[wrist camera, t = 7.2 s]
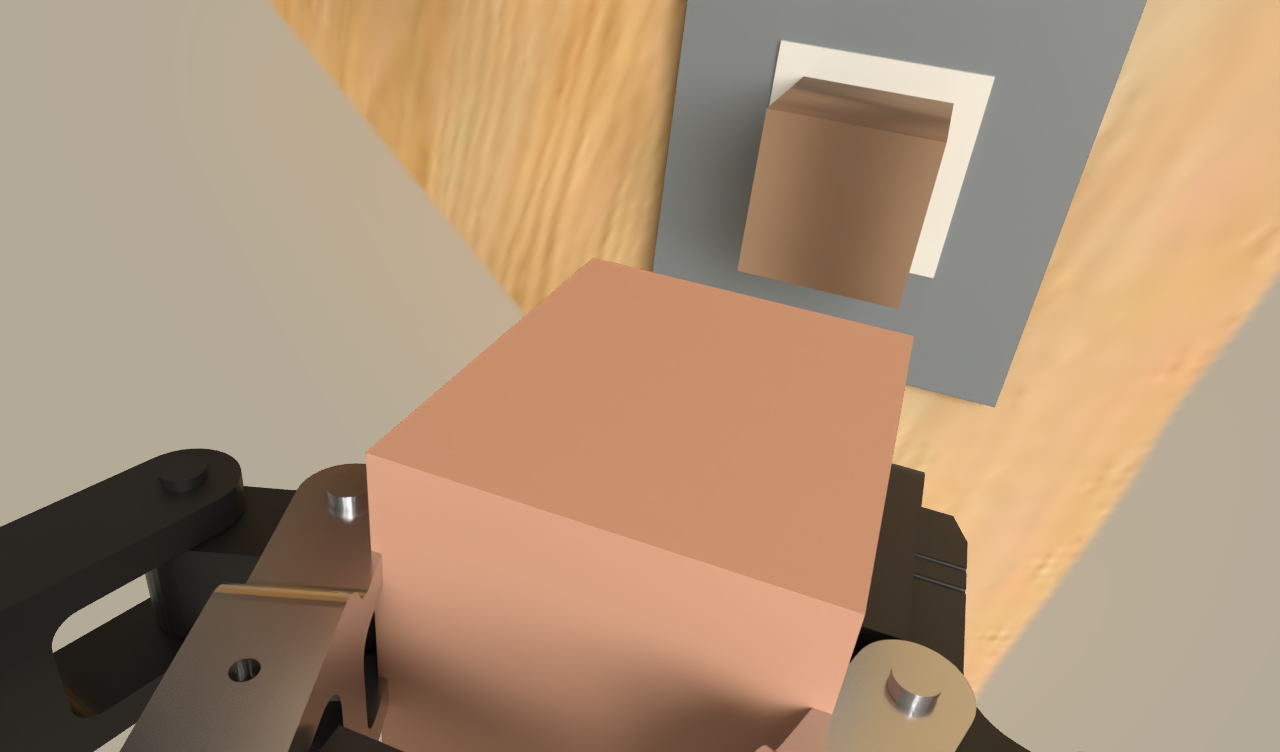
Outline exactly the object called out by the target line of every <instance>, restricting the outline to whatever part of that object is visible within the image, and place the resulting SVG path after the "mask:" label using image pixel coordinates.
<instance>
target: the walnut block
mask: <svg viewBox="0 0 1280 752" xmlns="http://www.w3.org/2000/svg"><path fill="white" fill-rule="evenodd" d="M953 105H954V103H949V102H943V101H938V100H932V99H927V98H921V97H916V96H910V95H905V94H899V93H894V92H888V91H882V90H877V89H871V88H866V87H860V86H855V85H849V84H844V83H838V82H833V81H827V80H821V79H816V78H810V77H805V76H804V77H803V78H801V79H800V80H799V81H798V82H797V83H796V84H794V85H793V86H792V87H791V88H790V89H789V90H787V91H786V92H785V93H784V94H783V95H782V96H781V97H779V98H778V99H777V100H776V101H775V102H774V103H772V104H771V105H770V106H769V107H768V108H767V110H766V115H765V121H764V126H763V132H762V137H761V143H760V148H759V154H758V159H757V165H756V170H755V176H754V181H753V187H752V192H751V198H750V203H749V209H748V214H747V220H746V225H745V231H744V236H743V242H742V247H741V253H740V258H739V264H738V269H737V271H741V272H745V273H749V274H753V275H757V276H762V277H766V278H770V279H774V280H778V281H782V282H787V283H791V284H795V285H799V286H803V287H808V288H812V289H816V290H820V291H824V292H828V293H833V294H837V295H841V296H845V297H849V298H854V299H858V300H862V301H866V302H870V303H874V304H879V305H883V306H887V307H891V308H895V309H899V306H900V303H901V299H902V296H903V292H904V289H905V285H906V282H907V278H908V275H909V272H910V268H911V265H912V261H913V258H914V254H915V251H916V247H917V244H918V240H919V237H920V234H921V230H922V227H923V223H924V220H925V216H926V213H927V209H928V206H929V202H930V199H931V196H932V192H933V189H934V185H935V182H936V178H937V175H938V171H939V168H940V164H941V161H942V158H943V154H944V151H945V147H946V144H947V139H948V133H949V128H950V122H951V116H952V111H953Z"/></svg>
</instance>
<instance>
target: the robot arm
mask: <svg viewBox="0 0 1280 752" xmlns="http://www.w3.org/2000/svg"><path fill="white" fill-rule="evenodd" d="M924 478H925V473H924V472H921V471H917V470H914V469H910V468H907V467H903V466H899V465H896V464H891V470H890V476H889V481H888V487H887V493H886V498H885V504H884V510H883V516H882V521H881V527H880V533H879V538H878V544H877V550H876V555H875V561H874V567H873V572H872V578H871V584H870V590H869V595H868V601H867V607H866V612H865V617H864V620H863V623H862V626H861V629H860V632H859V635H858V638H857V641H856V644H855V647H854V650H853V653H852V656H851V659H850V662H849V665H848V668H847V671H846V674H845V677H844V680H843V683H842V686H841V689H840V692H839V695H838V698H837V701H836V704H835V707H834V710H833V713H832V714H830V713H827V712H824V711H821V710H818V709H816V708H812V709H811V710H810V711H809V713H808V714H807V715H806V716H805V717H804V719H803V720H802V721H801V722H800V723H799V724H798V726H797V727H796V728H795V729H794V730H793V732H792V733H791V734H790V735H789V736H788V738H787V739H786V740H785V741H784V742H783V744H782V745H781V746H780V747H779V748H778V749H776V750H774V749H772V748H771V747H770V746H768V745H764V746H762V747H760V748H759V749H757V750H756V751H755V752H1030V751H1029V750H1027V749H1025V748H1024V747H1022V746H1021V745H1019V744H1017V743H1016V742H1014V741H1013V740H1011V739H1010V738H1008V737H1007V736H1005V735H1004V734H1003V733H1001V732H1000V731H999V730H998V729H996V728H995V727H994V726H993V725H992V724H991V723H990V722H989V721H988V720H987V719H986V718H985V717H984V716H983V714H982V713H981V712H980V711H979V709H978V708H977V707H976V699H975V696H974V693H973V690H972V688H971V686H970V684H969V682H968V681H967V679H966V678H965V677H964V672H963V667H964V635H965V604H966V594H965V590H966V573H965V572H966V568H967V541H966V539H965V537H964V535H963V533H962V532H961V530H960V528H959V526H958V524H957V522H956V521H955V519H954V517H953V516H951V515H947V514H944V513H940V512H937V511H934V510H930V509H927V508H923V507H921V505H922V496H923V487H924ZM143 574H145V575H146V580H147V584H148V588H149V593H150V598H148V599H147V600H145V601H143V602H142V603H140V604H138V605H136V606H134V607H133V608H131V609H129V610H127V611H126V612H124V613H122V614H120V615H119V616H117V617H115V618H113V619H112V620H110V621H109V622H106V623H105V624H103V625H101V626H100V627H98V628H96V629H94V630H92V631H91V632H89V633H87V634H86V635H84V636H82V637H80V638H79V639H77V640H75V641H73V642H72V643H70V644H68V645H67V646H65V647H63V648H61V649H59V650H58V651H56V652H54V653H53V652H52V641H53V637H54V635H55V633H56V631H57V630H58V628H59V627H60V626H61V624H62V623H63V622H64V621H65V620H66V619H67V618H68V617H69V616H70V615H72V614H73V613H75V612H77V611H78V610H80V609H82V608H84V607H85V606H87V605H89V604H91V603H93V602H95V601H96V600H98V599H100V598H102V597H104V596H105V595H107V594H109V593H111V592H113V591H114V590H116V589H118V588H120V587H122V586H124V585H125V584H127V583H129V582H131V581H133V580H135V579H136V578H138V577H140V576H142V575H143ZM382 587H383V572H382V554H380V553H378V552H375V551H372V550H371V539H370V521H369V504H368V486H367V469H366V464H344V465H337V466H334V467H330V468H327V469H324V470H321V471H319V472H317V473H315V474H313V475H312V476H310V477H309V478H307V479H306V480H305V481H304V482H303V483H302V484H301V485H300V486H299V488H298V489H297V490H284V489H272V488H260V487H248V486H243V480H242V473H241V468H240V465H239V463H238V462H237V461H236V460H235V459H234V458H233V457H231V456H230V455H228V454H226V453H223V452H220V451H216V450H210V449H186V450H179V451H174V452H170V453H167V454H163V455H160V456H158V457H155V458H153V459H150V460H148V461H146V462H144V463H142V464H139V465H137V466H135V467H133V468H130V469H128V470H126V471H124V472H122V473H119V474H117V475H115V476H113V477H111V478H108V479H106V480H104V481H102V482H99V483H97V484H95V485H93V486H90V487H88V488H86V489H84V490H82V491H80V492H77V493H75V494H73V495H70V496H68V497H66V498H64V499H62V500H59V501H57V502H55V503H53V504H50V505H48V506H46V507H44V508H42V509H39V510H37V511H35V512H33V513H30V514H28V515H26V516H24V517H21V518H19V519H17V520H15V521H13V522H11V523H8V524H6V525H4V526H1V527H0V752H94V751H95V750H97V749H98V748H100V747H101V746H102V745H104V744H105V743H107V742H108V741H110V740H111V739H113V738H114V737H116V736H117V735H119V734H120V733H122V732H123V731H125V730H126V729H128V728H129V727H131V726H132V725H134V724H135V723H136V722H137V723H136V724H135V726H134V728H133V730H132V731H131V733H130V735H129V736H128V738H127V740H126V742H125V744H124V745H123V747H122V748H121V750H120V752H404V751H401V750H399V749H397V748H394V747H392V746H389V745H387V744H384V743H382V742H380V741H378V740H379V737H380V733H381V730H382V727H383V723H384V720H385V716H386V713H387V710H388V706H389V697H388V679H386V678H383V677H381V676H378V662H377V645H376V627H375V607H376V604H377V601H378V598H379V595H380V593H381V590H382Z"/></svg>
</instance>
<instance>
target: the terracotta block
mask: <svg viewBox="0 0 1280 752" xmlns="http://www.w3.org/2000/svg"><path fill="white" fill-rule="evenodd" d="M913 339H914V336H911V335H907V334H903V333H899V332H895V331H891V330H887V329H883V328H879V327H875V326H870V325H866V324H862V323H858V322H854V321H850V320H846V319H842V318H838V317H834V316H830V315H825V314H821V313H817V312H813V311H809V310H805V309H801V308H797V307H793V306H789V305H785V304H780V303H776V302H772V301H768V300H764V299H760V298H756V297H752V296H748V295H744V294H739V293H735V292H731V291H727V290H723V289H719V288H715V287H711V286H707V285H703V284H699V283H694V282H690V281H686V280H682V279H678V278H674V277H670V276H666V275H662V274H658V273H654V272H649V271H645V270H641V269H637V268H633V267H629V266H625V265H621V264H617V263H613V262H609V261H604V260H600V259H596V258H592V259H591V260H590V261H589V262H588V263H586V264H585V265H584V266H583V267H582V268H581V269H579V270H578V271H577V272H576V273H575V274H574V275H572V276H571V277H570V278H569V279H568V280H567V281H565V282H564V283H563V284H562V285H561V286H560V287H558V288H557V289H556V290H555V291H554V292H553V293H551V294H550V295H549V296H548V297H547V298H546V299H544V300H543V301H542V302H541V303H540V304H539V305H537V306H536V307H535V308H534V309H533V310H532V311H530V312H529V313H528V314H527V315H526V316H525V317H523V318H522V319H521V320H520V321H519V322H518V323H516V324H515V325H514V326H513V327H512V328H511V329H509V330H508V331H507V332H506V333H505V334H504V335H502V336H501V337H500V338H499V339H498V340H497V341H495V342H494V343H493V344H492V345H491V346H490V347H488V348H487V349H486V350H485V351H484V352H483V353H482V354H480V355H479V356H478V357H477V358H476V359H474V360H473V361H472V362H471V363H470V364H468V365H467V366H466V367H465V368H464V369H463V370H461V371H460V372H459V373H458V374H457V375H456V376H455V377H453V378H452V379H451V380H450V381H449V382H447V383H446V384H445V385H444V386H443V387H442V388H440V389H439V390H438V391H437V392H436V393H435V394H433V395H432V396H431V397H430V398H429V399H428V400H426V401H425V402H424V403H423V404H422V405H421V406H419V407H418V408H417V409H416V410H415V411H414V412H413V413H411V414H410V415H409V416H408V417H407V418H405V419H404V420H403V421H402V422H401V423H400V424H398V425H397V426H396V427H395V428H394V429H393V430H391V431H390V432H389V433H388V434H387V435H386V436H384V437H383V438H382V439H381V440H380V441H379V442H377V443H376V444H375V445H374V446H373V447H372V448H370V449H369V450H368V451H367V452H366V469H367V486H368V504H369V521H370V539H371V550H372V551H375V552H378V553H380V554H382V572H383V587H382V590H381V593H380V595H379V598H378V601H377V604H376V607H375V627H376V645H377V662H378V676H381V677H383V678H386V679H388V697H389V706H388V710H387V713H386V716H385V720H384V723H383V727H382V730H381V732H382V743H384V744H387V745H389V746H392V747H394V748H397V749H399V750H401V751H404V752H755V751H756V750H757V749H759V748H760V747H762V746H764V745H768V746H770V747H771V748H772V749H774V750H776V749H778V748H779V747H780V746H781V745H782V744H783V742H784V741H785V740H786V739H787V738H788V736H789V735H790V734H791V733H792V732H793V730H794V729H795V728H796V727H797V726H798V724H799V723H800V722H801V721H802V720H803V719H804V717H805V716H806V715H807V714H808V713H809V711H810V710H811V709H812V708H816V709H818V710H821V711H824V712H827V713H830V714H832V713H833V710H834V707H835V704H836V701H837V698H838V695H839V692H840V689H841V686H842V683H843V680H844V677H845V674H846V671H847V668H848V665H849V662H850V659H851V656H852V653H853V650H854V647H855V644H856V641H857V638H858V635H859V632H860V629H861V626H862V623H863V620H864V617H865V612H866V607H867V601H868V595H869V590H870V584H871V578H872V572H873V567H874V561H875V555H876V550H877V544H878V538H879V533H880V527H881V521H882V516H883V510H884V504H885V498H886V493H887V487H888V481H889V476H890V470H891V464H892V459H893V453H894V447H895V441H896V436H897V430H898V424H899V419H900V413H901V407H902V402H903V396H904V390H905V385H906V379H907V373H908V367H909V362H910V356H911V350H912V345H913Z"/></svg>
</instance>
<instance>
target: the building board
mask: <svg viewBox="0 0 1280 752" xmlns="http://www.w3.org/2000/svg"><path fill="white" fill-rule="evenodd" d="M1146 2H1147V0H688V1H687V9H686V16H685V24H684V32H683V39H682V47H681V55H680V63H679V70H678V78H677V86H676V94H675V101H674V109H673V117H672V125H671V132H670V140H669V148H668V155H667V163H666V171H665V179H664V186H663V194H662V202H661V210H660V217H659V225H658V233H657V241H656V248H655V256H654V264H653V272H654V273H658V274H662V275H666V276H670V277H674V278H678V279H682V280H686V281H690V282H694V283H699V284H703V285H707V286H711V287H715V288H719V289H723V290H727V291H731V292H735V293H739V294H744V295H748V296H752V297H756V298H760V299H764V300H768V301H772V302H776V303H780V304H785V305H789V306H793V307H797V308H801V309H805V310H809V311H813V312H817V313H821V314H825V315H830V316H834V317H838V318H842V319H846V320H850V321H854V322H858V323H862V324H866V325H870V326H875V327H879V328H883V329H887V330H891V331H895V332H899V333H903V334H907V335H911V336H914V339H913V345H912V350H911V356H910V362H909V367H908V373H907V379H906V385H910V386H914V387H918V388H922V389H926V390H930V391H933V392H937V393H941V394H945V395H949V396H953V397H957V398H960V399H964V400H968V401H972V402H976V403H980V404H984V405H987V406H991V407H995V405H996V402H997V400H998V397H999V394H1000V392H1001V389H1002V386H1003V384H1004V381H1005V378H1006V376H1007V373H1008V370H1009V368H1010V365H1011V362H1012V360H1013V357H1014V354H1015V352H1016V349H1017V346H1018V344H1019V341H1020V338H1021V336H1022V333H1023V330H1024V328H1025V325H1026V322H1027V320H1028V317H1029V314H1030V312H1031V309H1032V306H1033V304H1034V301H1035V298H1036V296H1037V293H1038V290H1039V288H1040V285H1041V282H1042V280H1043V277H1044V274H1045V272H1046V269H1047V266H1048V264H1049V261H1050V258H1051V256H1052V253H1053V250H1054V248H1055V245H1056V242H1057V239H1058V237H1059V234H1060V231H1061V229H1062V226H1063V223H1064V221H1065V218H1066V215H1067V213H1068V210H1069V207H1070V205H1071V202H1072V199H1073V197H1074V194H1075V191H1076V189H1077V186H1078V183H1079V181H1080V178H1081V175H1082V173H1083V170H1084V167H1085V165H1086V162H1087V159H1088V157H1089V154H1090V151H1091V149H1092V146H1093V143H1094V141H1095V138H1096V135H1097V133H1098V130H1099V127H1100V125H1101V122H1102V119H1103V117H1104V114H1105V111H1106V109H1107V106H1108V103H1109V101H1110V98H1111V95H1112V93H1113V90H1114V87H1115V85H1116V82H1117V79H1118V77H1119V74H1120V71H1121V69H1122V66H1123V63H1124V61H1125V58H1126V55H1127V53H1128V50H1129V47H1130V45H1131V42H1132V39H1133V37H1134V34H1135V31H1136V28H1137V26H1138V23H1139V20H1140V18H1141V15H1142V12H1143V10H1144V7H1145V4H1146ZM804 76H805V77H810V78H816V79H821V80H827V81H833V82H838V83H844V84H849V85H855V86H860V87H866V88H871V89H877V90H882V91H888V92H894V93H899V94H905V95H910V96H916V97H921V98H927V99H932V100H938V101H943V102H949V103H954V105H953V111H952V116H951V122H950V128H949V133H948V139H947V144H946V147H945V151H944V154H943V158H942V161H941V164H940V168H939V171H938V175H937V178H936V182H935V185H934V189H933V192H932V196H931V199H930V202H929V206H928V209H927V213H926V216H925V220H924V223H923V227H922V230H921V234H920V237H919V240H918V244H917V247H916V251H915V254H914V258H913V261H912V265H911V268H910V272H909V275H908V278H907V282H906V285H905V289H904V292H903V296H902V299H901V303H900V306H899V309H895V308H891V307H887V306H883V305H879V304H874V303H870V302H866V301H862V300H858V299H854V298H849V297H845V296H841V295H837V294H833V293H828V292H824V291H820V290H816V289H812V288H808V287H803V286H799V285H795V284H791V283H787V282H782V281H778V280H774V279H770V278H766V277H762V276H757V275H753V274H749V273H745V272H741V271H737V269H738V264H739V258H740V253H741V247H742V242H743V236H744V231H745V225H746V220H747V214H748V209H749V203H750V198H751V192H752V187H753V181H754V176H755V170H756V165H757V159H758V154H759V148H760V143H761V137H762V132H763V126H764V121H765V115H766V110H767V108H768V107H769V106H770V105H771V104H772V103H774V102H775V101H776V100H777V99H778V98H779V97H781V96H782V95H783V94H784V93H785V92H786V91H787V90H789V89H790V88H791V87H792V86H793V85H794V84H796V83H797V82H798V81H799V80H800V79H801V78H803V77H804Z"/></svg>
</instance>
